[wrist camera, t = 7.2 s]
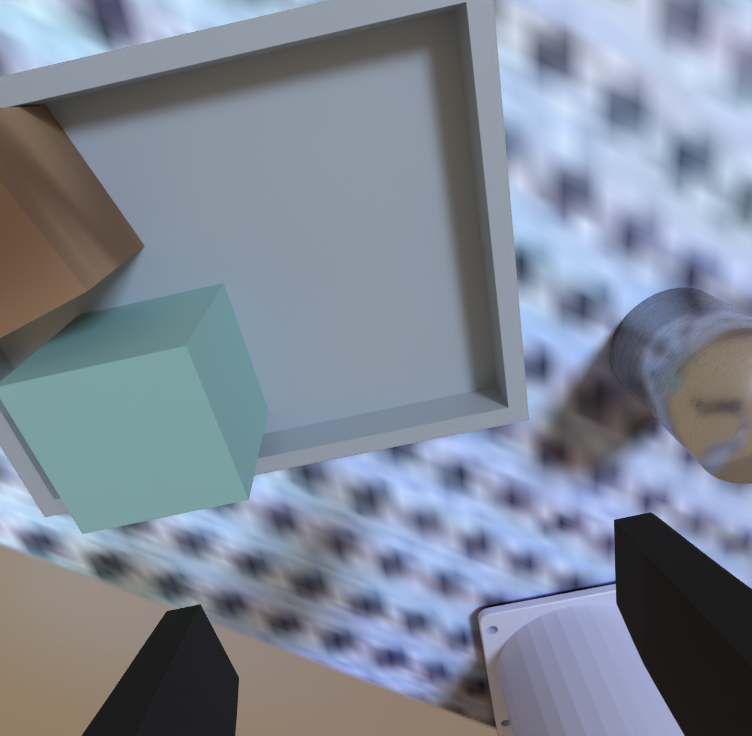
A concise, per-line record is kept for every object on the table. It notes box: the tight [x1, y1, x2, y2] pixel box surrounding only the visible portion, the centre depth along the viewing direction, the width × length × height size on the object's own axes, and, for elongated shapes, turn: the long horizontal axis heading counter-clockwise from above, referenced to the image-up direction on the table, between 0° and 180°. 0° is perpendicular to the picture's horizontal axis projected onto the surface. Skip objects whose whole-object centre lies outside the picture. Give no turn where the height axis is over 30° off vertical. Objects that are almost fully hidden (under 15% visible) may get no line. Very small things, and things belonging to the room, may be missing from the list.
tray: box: [0, 0, 529, 517], centre depth 16 cm, size 12×16×2 cm
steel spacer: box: [610, 288, 752, 484], centre depth 17 cm, size 4×4×5 cm
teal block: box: [0, 283, 268, 534], centre depth 15 cm, size 4×4×4 cm
